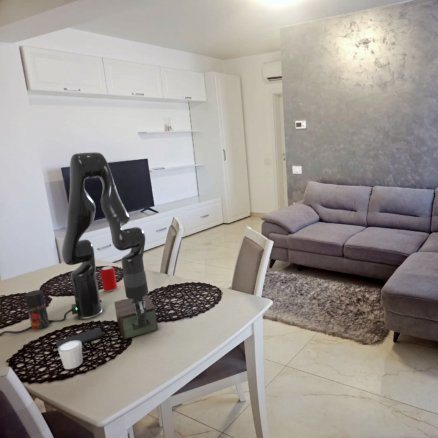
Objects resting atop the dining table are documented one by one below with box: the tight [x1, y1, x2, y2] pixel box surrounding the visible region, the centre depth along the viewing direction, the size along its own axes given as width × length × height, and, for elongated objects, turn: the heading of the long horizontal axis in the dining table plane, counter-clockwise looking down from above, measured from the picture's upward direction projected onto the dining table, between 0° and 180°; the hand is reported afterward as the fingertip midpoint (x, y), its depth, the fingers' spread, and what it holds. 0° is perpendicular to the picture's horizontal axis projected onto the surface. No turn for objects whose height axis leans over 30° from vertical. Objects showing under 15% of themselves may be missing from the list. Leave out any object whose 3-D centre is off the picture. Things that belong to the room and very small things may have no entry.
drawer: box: [122, 310, 157, 340], centre depth 141 cm, size 19×11×8 cm, turn 33°
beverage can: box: [100, 265, 118, 293], centre depth 182 cm, size 6×6×12 cm
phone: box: [55, 327, 104, 349], centre depth 137 cm, size 7×1×15 cm
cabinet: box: [113, 294, 159, 340], centre depth 145 cm, size 16×13×10 cm
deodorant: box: [24, 289, 50, 332], centre depth 146 cm, size 6×6×15 cm
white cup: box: [57, 340, 84, 370], centre depth 121 cm, size 7×7×7 cm
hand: (142, 326), depth 133 cm, fingers closed
